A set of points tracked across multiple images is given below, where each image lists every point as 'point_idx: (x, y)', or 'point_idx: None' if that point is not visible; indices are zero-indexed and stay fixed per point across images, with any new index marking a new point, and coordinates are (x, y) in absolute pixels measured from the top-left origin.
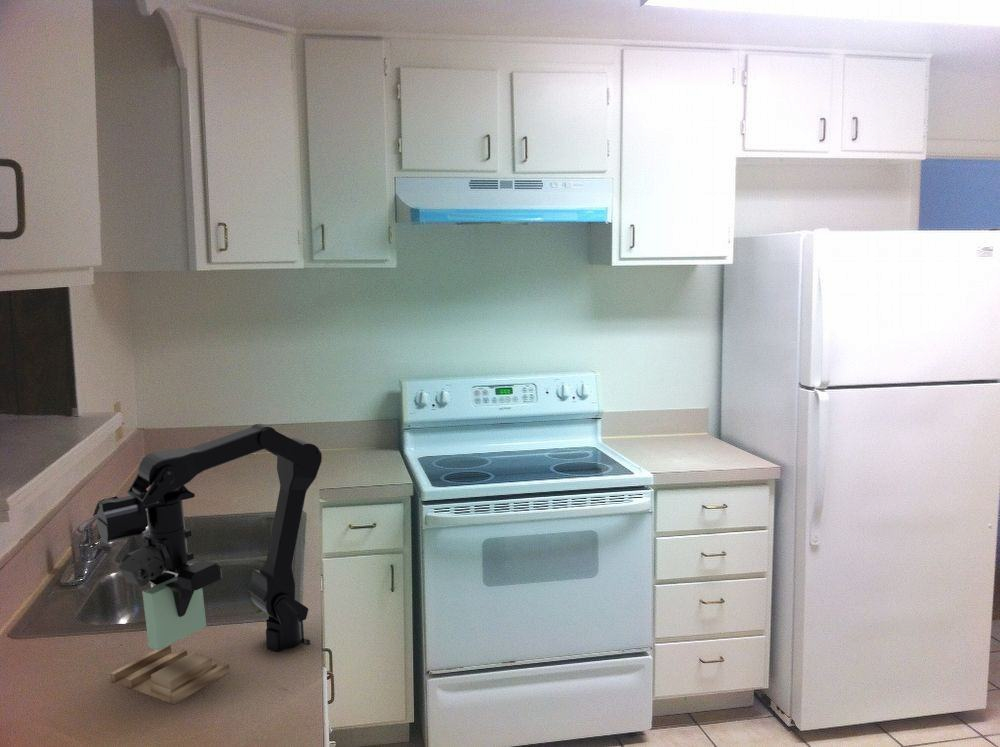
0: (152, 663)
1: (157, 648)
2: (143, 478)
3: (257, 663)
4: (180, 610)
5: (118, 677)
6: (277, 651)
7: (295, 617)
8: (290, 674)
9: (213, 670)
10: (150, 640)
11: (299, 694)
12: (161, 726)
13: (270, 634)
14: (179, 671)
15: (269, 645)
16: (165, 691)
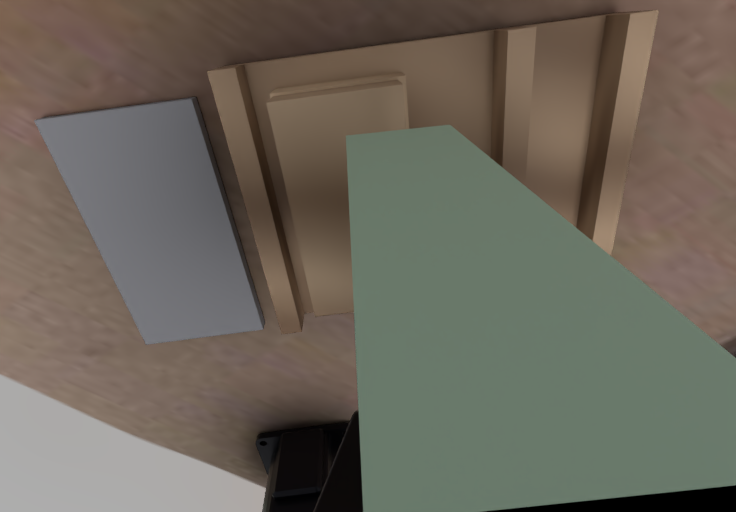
0: (575, 201)
1: (351, 137)
2: None
3: (297, 382)
4: (331, 470)
5: (611, 38)
6: (281, 438)
7: None
8: (166, 397)
9: (281, 282)
10: (432, 140)
11: (33, 357)
12: None
13: (297, 480)
14: (317, 184)
15: (308, 444)
16: (305, 87)
